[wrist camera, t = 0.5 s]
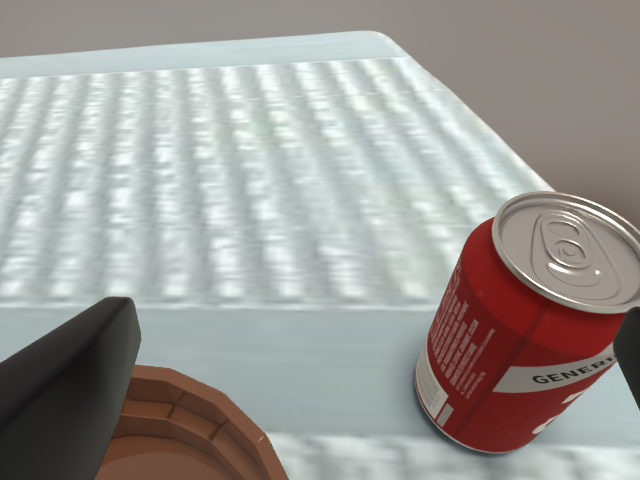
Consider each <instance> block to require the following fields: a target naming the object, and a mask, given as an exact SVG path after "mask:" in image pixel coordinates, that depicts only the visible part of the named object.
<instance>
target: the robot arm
mask: <svg viewBox="0 0 640 480" xmlns="http://www.w3.org/2000/svg"><path fill="white" fill-rule="evenodd" d="M140 343H141V331H140V326H139V322H138V318H137V313H136V309H135V304H134V302H133V300H132V299H131V298H129V297H106V298H104V299H103V300H101V301H99V302H98V303H96V304H94V305H93V306H91V307H90V308H88V309H86V310H85V311H83V312H82V313H80V314H78V315H77V316H75V317H74V318H72V319H70V320H69V321H67V322H65V323H64V324H62V325H61V326H59V327H57V328H56V329H54V330H53V331H51V332H49V333H48V334H46V335H44V336H43V337H41V338H40V339H38V340H36V341H35V342H33V343H32V344H30V345H28V346H27V347H25V348H24V349H22V350H20V351H19V352H17V353H15V354H14V355H12V356H11V357H9V358H7V359H6V360H4V361H3V362H1V363H0V480H95V478H96V476H97V474H98V471H99V469H100V466H101V464H102V461H103V459H104V456H105V454H106V452H107V449H108V447H109V444H110V442H111V439H112V437H113V434H114V432H115V429H116V426H117V424H118V420H119V417H120V414H121V411H122V407H123V404H124V400H125V397H126V393H127V390H128V386H129V383H130V379H131V376H132V372H133V368H134V365H135V361H136V358H137V354H138V351H139V347H140ZM613 351H614V354H615V357H616V359H617V361H618V363H619V366H620V368H621V370H622V372H623V374H624V377H625V379H626V381H627V383H628V385H629V388H630V390H631V392H632V394H633V396H634V399H635V401H636V403H637V405H638V408H639V410H640V306H635V307H632V308H630V309H629V310H628V311H627V312H626V314H625V316H624V318H623V320H622V322H621V325H620V327H619V329H618V331H617V333H616V335H615V337H614V340H613Z"/></svg>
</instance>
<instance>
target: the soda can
mask: <svg viewBox="0 0 640 480" xmlns="http://www.w3.org/2000/svg"><path fill="white" fill-rule="evenodd" d="M635 306H640V231H639V230H638V229H637V228H636V227H635V226H633V225H632V224H631V223H630V222H628V221H627V220H626V219H625V218H623V217H622V216H620V215H619V214H617V213H615V212H614V211H612V210H610V209H608V208H606V207H605V206H602V205H600V204H598V203H596V202H593V201H591V200H588V199H585V198H582V197H578V196H575V195H571V194H566V193H559V192H548V191H540V192H530V193H525V194H521V195H519V196H516V197H514V198H512V199H510V200H509V201H507V202H506V203H505V204H504V205H503V206H502V207H501V208H500V209H499V211H498V212H497V214H496V216H495V217H493V218H491V219H489V220H487V221H485V222H483V223H482V224H480V225H479V226H478V227H477V228H476V229H475V230H474V231H473V232H472V233H471V234H470V236H469V237H468V239H467V241H466V243H465V245H464V247H463V250H462V252H461V254H460V257H459V259H458V262H457V264H456V267H455V269H454V272H453V274H452V276H451V279H450V281H449V284H448V286H447V289H446V291H445V293H444V296H443V298H442V301H441V303H440V306H439V308H438V311H437V313H436V315H435V318H434V320H433V323H432V325H431V328H430V330H429V332H428V335H427V337H426V340H425V342H424V345H423V347H422V350H421V352H420V354H419V357H418V360H417V363H416V367H415V387H416V391H417V395H418V398H419V400H420V403H421V405H422V407H423V409H424V411H425V412H426V414H427V415H428V417H429V418H430V419H431V421H432V422H433V423H434V424H435V425H436V426H437V427H438V428H439V429H440V430H441V431H442V432H443V433H444V434H445V435H447V436H448V437H449V438H451V439H452V440H454V441H455V442H457V443H459V444H461V445H463V446H465V447H467V448H470V449H473V450H476V451H480V452H485V453H506V452H511V451H514V450H517V449H519V448H522V447H523V446H525V445H526V444H528V443H529V442H530V441H531V440H533V439H534V438H535V437H536V436H537V435H538V434H539V433H540V432H541V431H542V430H543V429H544V428H546V427H547V426H548V425H549V424H550V423H551V422H552V421H553V420H554V419H555V418H556V417H558V416H559V415H560V414H561V413H562V412H563V411H564V410H565V409H566V408H567V407H568V406H570V405H571V404H572V403H573V402H574V401H575V400H576V399H577V398H578V397H579V396H580V395H581V394H583V393H584V392H585V391H586V390H587V389H588V388H589V387H590V386H591V385H592V384H593V383H595V382H596V381H597V380H598V379H599V378H600V377H601V376H602V375H603V374H604V373H605V372H606V371H608V370H609V369H610V368H611V367H612V366H613V365H614V364H615V363H616V362H617V359H616V357H615V354H614V351H613V340H614V337H615V335H616V333H617V331H618V329H619V327H620V325H621V322H622V320H623V318H624V316H625V314H626V312H627V311H628V310H629V309H630V308H632V307H635Z"/></svg>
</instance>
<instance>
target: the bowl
mask: <svg viewBox="0 0 640 480" xmlns="http://www.w3.org/2000/svg"><path fill="white" fill-rule="evenodd" d="M95 480H289V479H288V477H287V474H286V472H285V470H284V468H283V466H282V464H281V462H280V460H279V458H278V456H277V454H276V452H275V450H274V448H273V446H272V444H271V442H270V440H269V438H268V437H267V436H266V434H265V433H264V432H263V431H262V430H261V429H260V428H259V427H258V426H257V425H256V424H255V423H254V422H253V421H252V420H251V419H250V418H249V417H248V416H247V415H246V414H245V413H244V412H243V411H242V410H241V409H240V408H239V407H238V406H237V405H236V404H235V403H234V402H233V401H232V400H231V399H230V398H229V397H228V396H227V395H226V394H224V393H223V392H221V391H219V390H217V389H215V388H213V387H210V386H208V385H206V384H204V383H202V382H199V381H197V380H195V379H193V378H191V377H189V376H186V375H184V374H182V373H180V372H178V371H176V370H173V369H170V368H162V367H153V366H144V365H134V368H133V372H132V376H131V379H130V383H129V386H128V390H127V393H126V397H125V400H124V404H123V407H122V411H121V414H120V417H119V420H118V424H117V426H116V429H115V432H114V434H113V437H112V439H111V442H110V444H109V447H108V449H107V452H106V454H105V456H104V459H103V461H102V464H101V466H100V469H99V471H98V474H97V476H96V478H95Z"/></svg>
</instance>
